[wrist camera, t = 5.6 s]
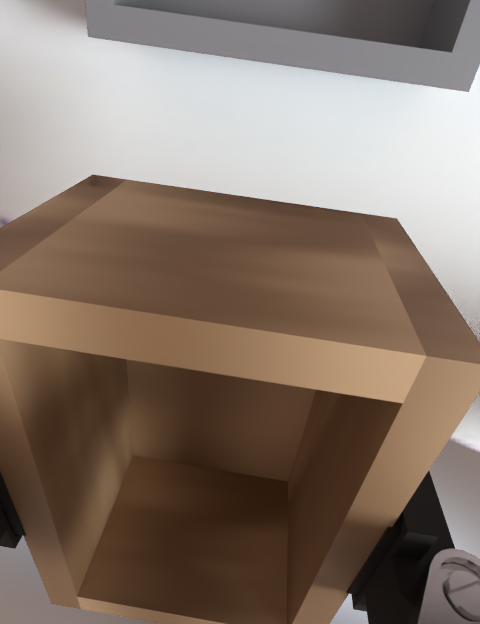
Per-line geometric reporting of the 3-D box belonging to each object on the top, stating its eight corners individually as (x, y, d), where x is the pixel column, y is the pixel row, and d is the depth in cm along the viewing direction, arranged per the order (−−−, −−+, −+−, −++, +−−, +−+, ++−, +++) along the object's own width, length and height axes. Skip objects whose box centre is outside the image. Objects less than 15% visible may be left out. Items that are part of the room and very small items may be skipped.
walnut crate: (397, 219, 9) (495, 367, 4) (305, 477, 14) (311, 650, 10) (92, 174, 9) (-84, 276, 5) (120, 447, 14) (52, 603, 10)
